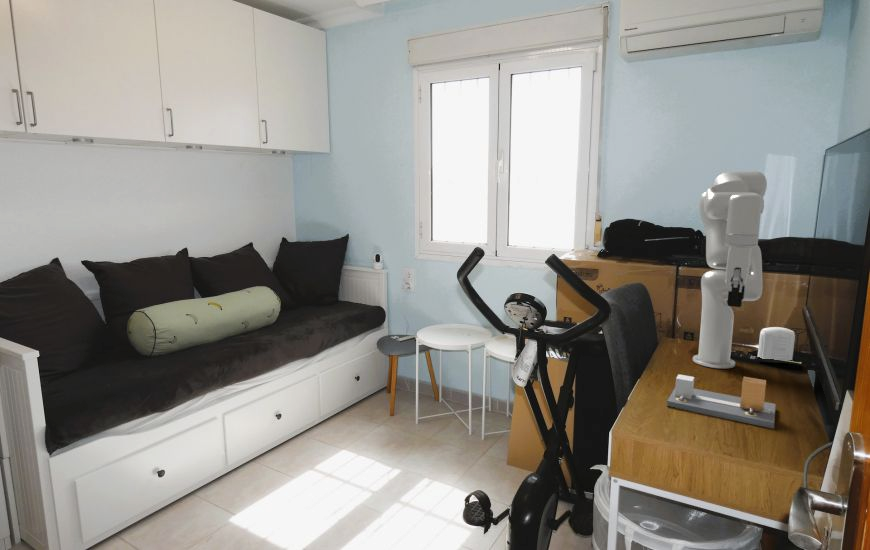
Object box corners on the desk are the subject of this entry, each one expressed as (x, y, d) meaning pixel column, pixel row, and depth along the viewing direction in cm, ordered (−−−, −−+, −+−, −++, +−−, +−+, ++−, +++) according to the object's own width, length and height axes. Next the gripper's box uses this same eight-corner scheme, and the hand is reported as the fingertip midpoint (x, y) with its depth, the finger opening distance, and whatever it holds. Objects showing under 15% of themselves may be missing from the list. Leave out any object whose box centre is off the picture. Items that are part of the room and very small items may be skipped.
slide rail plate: (676, 390, 149) (677, 368, 148) (774, 409, 135) (777, 385, 134) (666, 406, 137) (668, 383, 136) (773, 428, 124) (776, 403, 123)
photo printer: (787, 361, 175) (791, 326, 173) (794, 365, 170) (798, 329, 169) (754, 360, 176) (758, 325, 174) (760, 364, 172) (764, 328, 170)
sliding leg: (741, 401, 135) (743, 376, 134) (763, 406, 132) (766, 380, 131) (739, 410, 129) (741, 384, 128) (762, 415, 126) (765, 388, 125)
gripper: (728, 236, 146) (722, 295, 149) (722, 243, 132) (716, 307, 135) (759, 238, 142) (753, 298, 145) (756, 244, 128) (749, 311, 131)
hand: (735, 302), depth 140 cm, fingers open, 9 cm apart
